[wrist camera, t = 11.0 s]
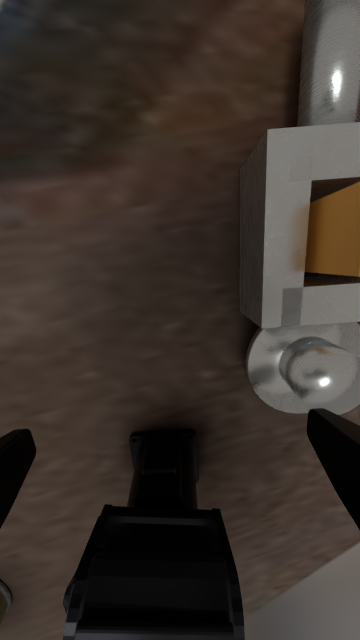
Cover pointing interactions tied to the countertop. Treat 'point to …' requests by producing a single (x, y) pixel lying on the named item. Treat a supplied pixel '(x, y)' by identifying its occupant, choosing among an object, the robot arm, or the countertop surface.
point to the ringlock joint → (304, 228)
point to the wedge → (335, 233)
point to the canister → (4, 600)
